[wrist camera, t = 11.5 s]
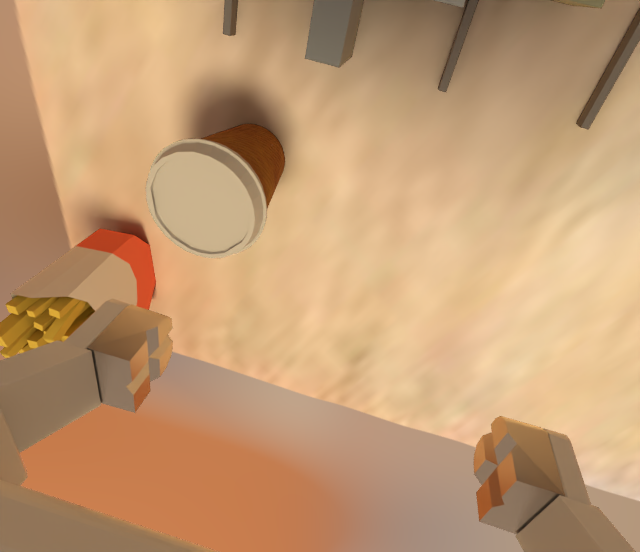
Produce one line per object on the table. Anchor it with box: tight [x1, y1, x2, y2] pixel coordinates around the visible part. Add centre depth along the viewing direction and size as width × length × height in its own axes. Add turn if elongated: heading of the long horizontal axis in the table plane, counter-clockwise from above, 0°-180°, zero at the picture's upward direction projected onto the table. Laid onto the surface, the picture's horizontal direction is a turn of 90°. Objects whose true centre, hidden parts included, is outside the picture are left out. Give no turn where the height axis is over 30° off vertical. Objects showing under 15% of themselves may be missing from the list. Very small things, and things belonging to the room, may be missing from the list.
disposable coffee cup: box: [146, 124, 285, 258], centre depth 36 cm, size 10×10×12 cm
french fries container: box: [0, 229, 156, 358], centre depth 44 cm, size 5×11×18 cm, turn 175°
